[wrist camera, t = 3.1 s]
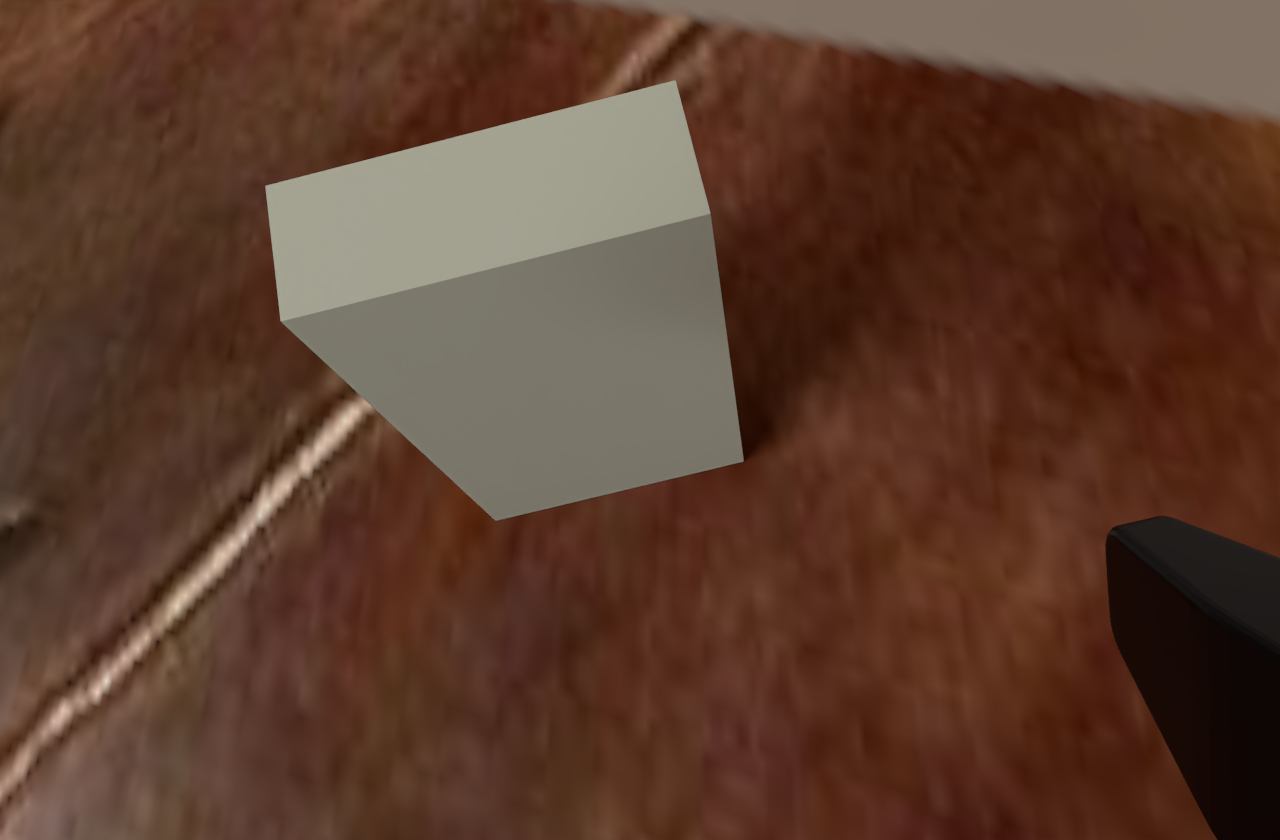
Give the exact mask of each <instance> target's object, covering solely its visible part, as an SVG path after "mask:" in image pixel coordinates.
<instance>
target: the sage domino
mask: <svg viewBox="0 0 1280 840" xmlns="http://www.w3.org/2000/svg"><path fill="white" fill-rule="evenodd" d="M265 187H266V196H267V205H268V214H269V223H270V231H271V240H272V249H273V258H274V267H275V275H276V284H277V293H278V302H279V310H280V319H281V322H282V323H283V324H284V325H285V326H286V327H287V328H288V329H289V330H290V331H292V332H293V333H294V334H295V335H296V336H297V337H298V338H299V339H300V340H301V341H302V342H303V343H304V344H306V345H307V346H308V347H309V348H310V349H311V350H312V351H313V352H314V353H315V354H316V355H317V356H319V357H320V358H321V359H322V360H323V361H324V362H325V363H326V364H327V365H328V366H329V367H330V368H331V369H333V370H334V371H335V372H336V373H337V374H338V375H339V376H340V377H341V378H342V379H343V380H344V381H345V382H347V383H348V384H349V385H350V386H351V387H352V388H353V389H354V390H355V391H356V392H357V393H358V394H360V395H361V396H362V397H363V398H364V399H365V400H366V401H367V402H368V403H369V404H370V405H371V406H372V407H374V408H375V409H376V410H377V411H378V412H379V413H380V414H381V415H382V416H383V417H384V418H385V419H386V420H388V421H389V422H390V423H391V424H392V425H393V426H394V427H395V428H396V429H397V430H398V431H399V432H401V433H402V434H403V435H404V436H405V437H406V438H407V439H408V440H409V441H410V442H411V443H412V444H413V445H415V446H416V447H417V448H418V449H419V450H420V451H421V452H422V453H423V454H424V455H425V456H426V457H427V458H429V459H430V460H431V461H432V462H433V463H434V464H435V465H436V466H437V467H438V468H439V469H440V470H442V471H443V472H444V473H445V474H446V475H447V476H448V477H449V478H450V479H451V480H452V481H453V482H454V483H456V484H457V485H458V486H459V487H460V488H461V489H462V490H463V491H464V492H465V493H466V494H467V495H469V496H470V497H471V498H472V499H473V500H474V501H475V502H476V503H477V504H478V505H479V506H480V507H481V508H483V509H484V510H485V511H486V512H487V513H488V514H489V515H490V516H491V517H492V518H493V519H494V520H495V521H497V520H501V519H506V518H510V517H514V516H518V515H522V514H526V513H531V512H535V511H539V510H543V509H547V508H552V507H556V506H560V505H564V504H568V503H572V502H577V501H581V500H585V499H589V498H593V497H598V496H602V495H606V494H610V493H614V492H618V491H623V490H627V489H631V488H635V487H639V486H644V485H648V484H652V483H656V482H660V481H664V480H669V479H673V478H677V477H681V476H685V475H689V474H694V473H698V472H702V471H706V470H710V469H715V468H719V467H723V466H727V465H731V464H735V463H740V462H744V458H743V451H742V444H741V436H740V429H739V421H738V414H737V406H736V399H735V392H734V384H733V377H732V369H731V362H730V355H729V347H728V340H727V332H726V325H725V317H724V310H723V303H722V295H721V288H720V280H719V273H718V266H717V258H716V251H715V243H714V236H713V228H712V221H711V214H710V210H709V206H708V202H707V198H706V195H705V191H704V187H703V183H702V179H701V176H700V172H699V168H698V164H697V160H696V157H695V153H694V149H693V145H692V142H691V138H690V134H689V130H688V126H687V123H686V119H685V115H684V111H683V107H682V104H681V100H680V96H679V92H678V88H677V85H676V81H671V82H667V83H664V84H660V85H656V86H652V87H648V88H644V89H640V90H636V91H632V92H629V93H625V94H621V95H617V96H613V97H609V98H605V99H601V100H597V101H594V102H590V103H586V104H582V105H578V106H574V107H570V108H566V109H563V110H559V111H555V112H551V113H547V114H543V115H539V116H535V117H531V118H528V119H524V120H520V121H516V122H512V123H508V124H504V125H500V126H496V127H493V128H489V129H485V130H481V131H477V132H473V133H469V134H465V135H461V136H458V137H454V138H450V139H446V140H442V141H438V142H434V143H430V144H427V145H423V146H419V147H415V148H411V149H407V150H403V151H399V152H395V153H392V154H388V155H384V156H380V157H376V158H372V159H368V160H364V161H360V162H357V163H353V164H349V165H345V166H341V167H337V168H333V169H329V170H325V171H322V172H318V173H314V174H310V175H306V176H302V177H298V178H294V179H291V180H287V181H283V182H279V183H275V184H271V185H267V186H265Z"/></svg>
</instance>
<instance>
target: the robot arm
mask: <svg viewBox="0 0 1280 840" xmlns="http://www.w3.org/2000/svg"><path fill="white" fill-rule="evenodd" d="M1106 565H1107V581H1108V596H1109V611H1110V622H1111V627H1112V631H1113V635H1114V638H1115V641H1116V644H1117V646H1118V649H1119V651H1120V653H1121V655H1122V657H1123V659H1124V661H1125V663H1126V665H1127V667H1128V669H1129V671H1130V673H1131V675H1132V677H1133V679H1134V681H1135V683H1136V685H1137V687H1138V689H1139V690H1140V692H1141V694H1142V696H1143V698H1144V700H1145V702H1146V704H1147V706H1148V708H1149V710H1150V712H1151V714H1152V716H1153V718H1154V720H1155V722H1156V724H1157V726H1158V728H1159V730H1160V732H1161V734H1162V736H1163V738H1164V740H1165V742H1166V744H1167V746H1168V747H1169V749H1170V751H1171V753H1172V755H1173V757H1174V759H1175V761H1176V763H1177V765H1178V767H1179V769H1180V771H1181V773H1182V775H1183V777H1184V779H1185V781H1186V783H1187V785H1188V787H1189V789H1190V791H1191V793H1192V795H1193V797H1194V799H1195V801H1196V802H1197V804H1198V806H1199V808H1200V810H1201V812H1202V814H1203V815H1204V817H1205V819H1206V821H1207V823H1208V825H1209V827H1210V828H1211V830H1212V832H1213V833H1214V835H1215V837H1216V838H1217V840H1280V558H1279V557H1276V556H1273V555H1271V554H1268V553H1265V552H1263V551H1260V550H1257V549H1255V548H1252V547H1249V546H1247V545H1244V544H1241V543H1239V542H1236V541H1233V540H1231V539H1228V538H1225V537H1222V536H1220V535H1217V534H1214V533H1212V532H1209V531H1206V530H1204V529H1201V528H1198V527H1196V526H1193V525H1190V524H1188V523H1185V522H1182V521H1180V520H1177V519H1174V518H1171V517H1167V516H1158V517H1153V518H1149V519H1145V520H1140V521H1136V522H1132V523H1127V524H1123V525H1119V526H1116V527H1113V528H1112V530H1111V531H1110V532H1109V533H1108V535H1107V539H1106Z"/></svg>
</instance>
